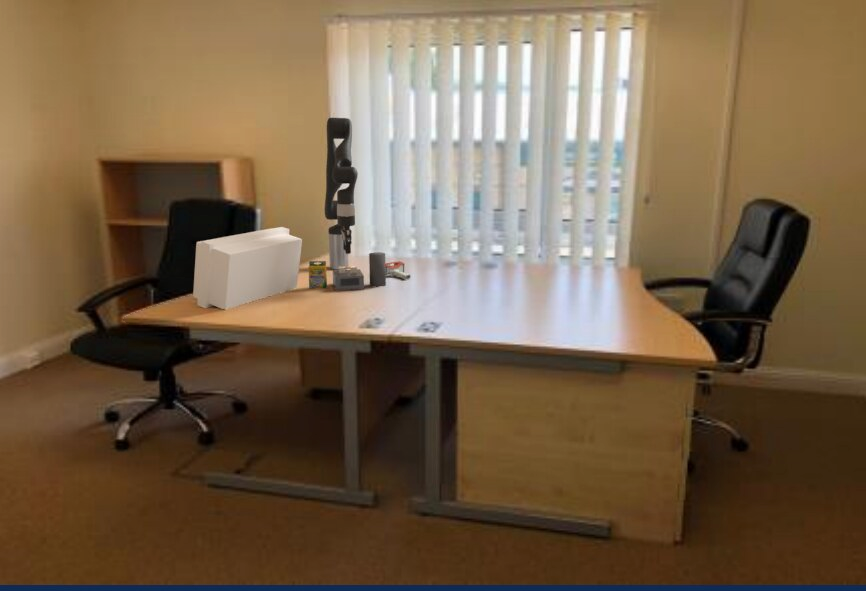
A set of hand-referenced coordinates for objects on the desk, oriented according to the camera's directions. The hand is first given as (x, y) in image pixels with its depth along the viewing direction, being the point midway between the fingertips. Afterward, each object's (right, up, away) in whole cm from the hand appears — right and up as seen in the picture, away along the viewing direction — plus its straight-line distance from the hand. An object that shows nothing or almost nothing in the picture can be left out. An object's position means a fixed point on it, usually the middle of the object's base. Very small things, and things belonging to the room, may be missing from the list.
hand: (347, 251), depth 296 cm
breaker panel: (0, -15, +4) cm, 15 cm away
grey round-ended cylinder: (+13, -14, +6) cm, 20 cm away
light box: (-37, -20, -15) cm, 45 cm away
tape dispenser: (+19, -10, +26) cm, 34 cm away
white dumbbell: (0, -9, +2) cm, 9 cm away
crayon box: (-13, -16, +1) cm, 20 cm away
